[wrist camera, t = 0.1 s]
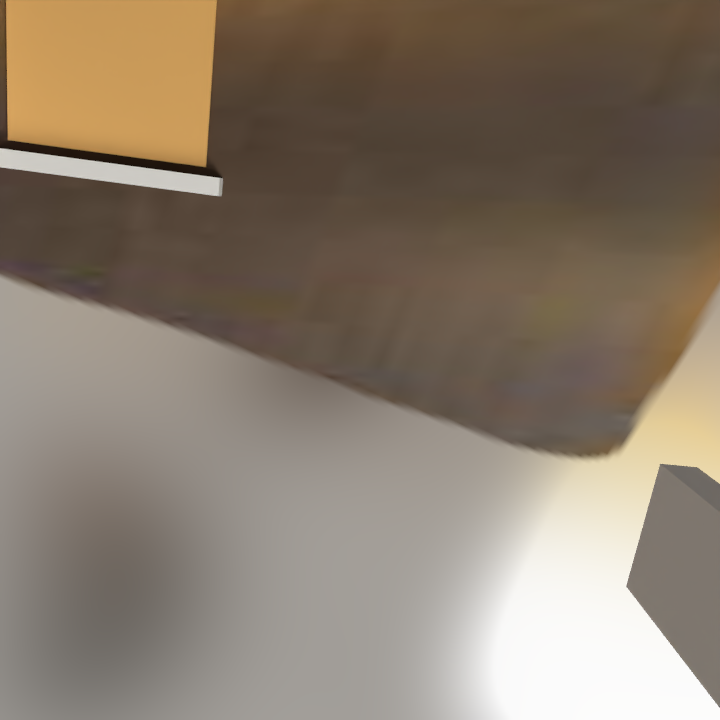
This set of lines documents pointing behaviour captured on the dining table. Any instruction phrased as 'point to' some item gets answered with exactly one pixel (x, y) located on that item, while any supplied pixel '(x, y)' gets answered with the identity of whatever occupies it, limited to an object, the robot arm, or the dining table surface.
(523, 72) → the dining table surface
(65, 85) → the bay rack
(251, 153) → the dining table surface
